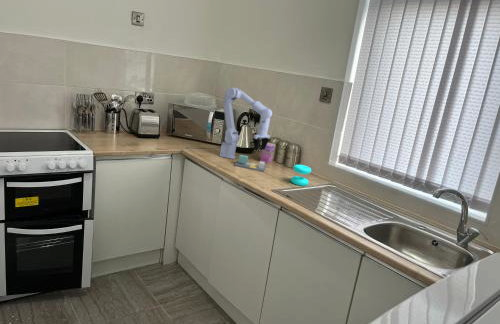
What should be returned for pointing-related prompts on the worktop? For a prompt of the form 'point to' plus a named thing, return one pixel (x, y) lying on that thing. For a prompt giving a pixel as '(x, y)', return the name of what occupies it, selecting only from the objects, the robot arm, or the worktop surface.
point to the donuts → (298, 179)
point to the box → (267, 153)
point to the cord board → (252, 166)
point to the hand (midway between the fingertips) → (259, 149)
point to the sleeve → (243, 159)
